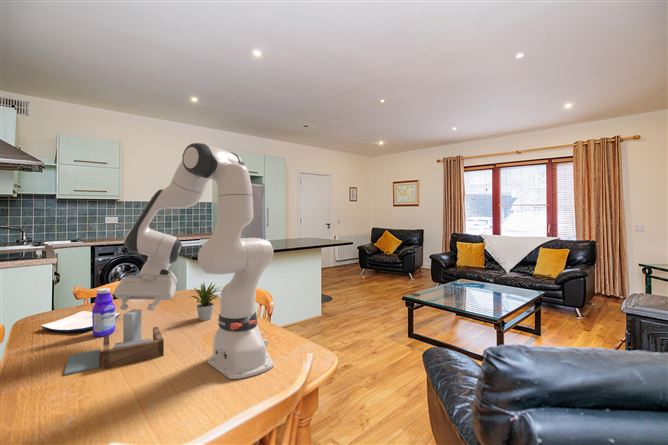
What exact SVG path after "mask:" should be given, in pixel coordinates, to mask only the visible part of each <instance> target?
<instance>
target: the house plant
mask: <svg viewBox="0 0 668 445" xmlns="http://www.w3.org/2000/svg"><path fill="white" fill-rule="evenodd" d="M216 285H217V283H215V284H213V282H211V283H210V284H209V286H207V289H206V286H205V282H204V281H203V282H202V283H200V286H199V288H200V289H197V288H196V287H194V286H193V289H194V292H195V293H196V294H197V295H198V296H196V295H191V296H190V298H194V299H196V301H197V302H196V309H197V316H198V320H199V321H202V322H203V321H208V320H211V319H212V316H213V311H214V305H215V304H214V302H212V300H215V301H217V299H216V298H220V296H219V295H220V293H218V294H215V293H217V292H221V291H222V289H221V287H223V285H221V286H218V287H215V286H216Z"/></svg>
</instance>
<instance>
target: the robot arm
mask: <svg viewBox="0 0 668 445" xmlns="http://www.w3.org/2000/svg"><path fill="white" fill-rule="evenodd" d="M181 158H182V160H181V162H180V163H179V165H178V166H177V168H176V170H175V173H174V174H173V177H172V179H171V181H170V183H169V185H168V186H167V187H165V188H163V189H158V190H157V191H156V192H155V193H154V195H153V196H152V197H151V199H150V200H149V202H148V203H147V204H146V206H145V208H144V209H143V211H142V213H141V214H140V215H139V217H138V218H137V220H136V222H135V223H134V225H133V227H132V228H130V229H129V231H128V232H127V234H126V236H125V237H124V241H123V244H124V247H125V248H126V249H127V251H128V252H129V253H133V254H138V255H144V256H147V259H146V262H145V263H144V264H143V265H142V267H141V270H139V271H140V272H139V274H138V275H130V274H129V275H127V276H124V277H123V278H122V279H121V281H120V282H119V283H118V285H117V286H116V287H115V289H114V291H113V295H114V297H115V298H117V300H120V301H121V304H120V306H119V309H120V310H121V311H126V310H128V308H129V305H128V304H127V302H129V300H138V301H139V300H146V301H148V300H151V301H153V302H151V303H149V304H148V305H147V310H148V311H154V310H155V308H156V307H157V306H158V305H159V304H160V303H161V301H170V300H172V299H174V296H175V293H176V290H177V285H176V284H177V283H178V279H177V277H176V274H174V272H173V271H172V270H169V267H170V266H171V265H172V264H173V263H175V262H177V259H178V257H179V255H180V253H181V250H182V247H183V245H182V244H183V243H182V242H181V240H180V239H179V238H178V237H176V236H174V235H170V234H168V233H163V232H162V231H161V232H160V231H158V230H154V229H152V228H150V227H149V226H150V224H151V223H152V221H153V219H154V218H155V216H156V215H157V213H158V212H159V211H162V210H168V209H169V210H171V209H172V210H173V209H174V210H183V209H184V210H185V209H189V208H192V207H194V206H196V205H197V204H199V201H200V200H201V198H202V196H203V194H204V191H205V189H206V186H207V183H208V181H210V180H213V181H215V182H216V185H217V186H216V187H217V210H218V211H217V223H216V227H215V229H214V231H213V233H212V235H211V236H210V237H209V238H208V240H207V241H205V242H204V243H203V244H202V245H201V247H200V249H199V251H198V253H197V263H198V266H199V268H200V269H201V270H202V271H203V272H204V273H205V274H210V275H226V274H227V275H228V274H233V277H231V279H230V281H229V282H228V283H227V284H225V285H223V286H222V287H223V288H222V289H221V291H220V293H219V295H220V296H219V298H220V300H219V301H220V304H219V308H220V310H219V312H220V313H219V315H218V319H217V320H218V329H217V331H216V332H215V333H214V335H213V342H212V343H213V344H212V355H211V356H210V357H208V358H207V363H208V364H209V365H210V366H211V367H213V368H214V369H216V370H217V371H218V372H220V373H221V374H222V375H224V376H225V377H226V378H228V379H230V380H237V379H238V380H239V379H244V378H249V377H252V376H256V375H259V374H263V373H265V372H267V371H269V370H270V369H272V368H273V367H274V361H273V360H272V357H271V356H270V354H269V352H268V350H267V349H266V347H268V346H269V341H268V340H269V339H267V338H264V337H263V334H264V333H263V331H260V330H261V329H260V327H259V325H258V316H257V312H256V295H257V293H256V292H257V287H258V284H259V280H260V279H261V277H262V274H263V273H264V271H265V269H266V268H267V267H268V266H269V265H270V264H271V263H272V261H273V259H274V247H273V245H272V244H271V242H270V241H269V240H268V239H266V238H265V239H263V238H259V237H245V238H244V237H242V232H243V230H244V228H245V227H247V226H248V225H250V224H251V223H252V221H253V220H254V216H255V215H254V199H253V198H254V196H253V188H252V187H253V186H252V180H251V176H250V172H249V170H248V168H247V167H246V166H245V163H244V160H243V159H242V157H241V156H239V155H238V154H236V153H235V152H231V151H228V150H226V149H223V148H221V147H217V146H214V145H208V144H206V143H200V142H196V143H195V142H194V143H191V144H189V145H187V146H186V148H185V149H184V150H183V154H182V157H181ZM263 338H264V339H263Z"/></svg>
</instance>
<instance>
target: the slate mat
mask: <svg viewBox="0 0 668 445" xmlns="http://www.w3.org/2000/svg"><path fill="white" fill-rule="evenodd" d="M100 358H101V349H93V350H88V351H82V352H78V353H73V354H69V355H68V358H67V363H66V366H65V369H64V376H68V375H73V374H77V373H78V374H79V373H84V372H87V371H92V370H96V369H100V362H101V360H100Z"/></svg>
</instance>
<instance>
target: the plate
mask: <svg viewBox="0 0 668 445" xmlns="http://www.w3.org/2000/svg"><path fill="white" fill-rule="evenodd" d="M120 315H122V313H121V312H115V319H117V318H119V316H120ZM40 328H43V329H45V330H48V331H53V332H61V333H62V332H63V333H76V332H79V333H80V332H86V331H89V330H93V323H92V311H88V310H87V311H86V310H82V311H79V312H76V313H74V314H72V315H69V316H67V317H64V318H61V319H58V320H56V321H55V320H54V321H52V322H47V323H44V324H40Z"/></svg>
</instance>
